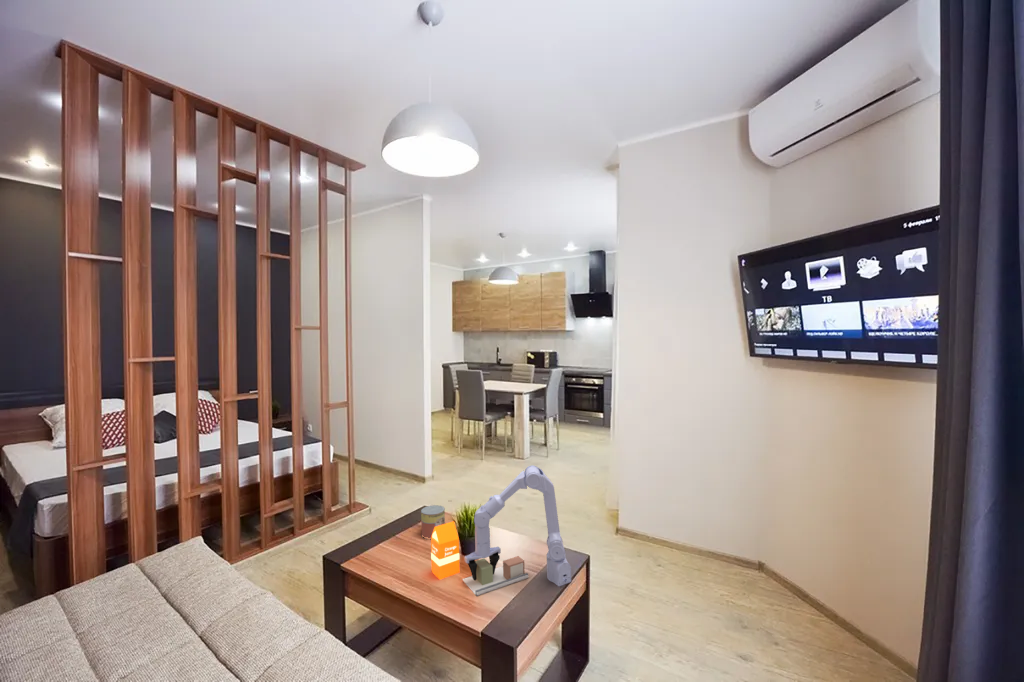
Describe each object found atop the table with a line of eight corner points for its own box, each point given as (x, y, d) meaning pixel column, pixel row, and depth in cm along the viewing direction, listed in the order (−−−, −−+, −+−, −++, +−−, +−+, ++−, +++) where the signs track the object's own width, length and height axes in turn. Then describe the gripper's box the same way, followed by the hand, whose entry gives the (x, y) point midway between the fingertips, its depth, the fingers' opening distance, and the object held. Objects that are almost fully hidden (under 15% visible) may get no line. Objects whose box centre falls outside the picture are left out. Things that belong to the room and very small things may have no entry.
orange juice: (431, 573, 171) (430, 523, 171) (451, 566, 176) (449, 518, 176) (439, 582, 165) (438, 530, 165) (460, 574, 170) (458, 524, 170)
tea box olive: (485, 573, 169) (484, 558, 169) (493, 581, 163) (492, 565, 163) (474, 576, 166) (474, 561, 166) (482, 585, 160) (481, 569, 160)
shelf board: (528, 580, 164) (528, 574, 164) (476, 598, 153) (476, 591, 153) (511, 565, 176) (511, 559, 176) (462, 581, 165) (462, 575, 165)
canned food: (433, 541, 199) (433, 516, 199) (416, 536, 205) (416, 511, 205) (450, 532, 208) (449, 507, 208) (433, 527, 214) (432, 503, 214)
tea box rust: (524, 576, 166) (524, 560, 166) (509, 581, 162) (508, 566, 162) (518, 571, 170) (518, 555, 170) (503, 576, 166) (503, 560, 166)
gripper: (494, 532, 172) (495, 566, 172) (461, 541, 164) (462, 576, 164) (502, 539, 165) (503, 574, 165) (468, 549, 158) (469, 585, 158)
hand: (483, 576), depth 164 cm, fingers open, 7 cm apart
